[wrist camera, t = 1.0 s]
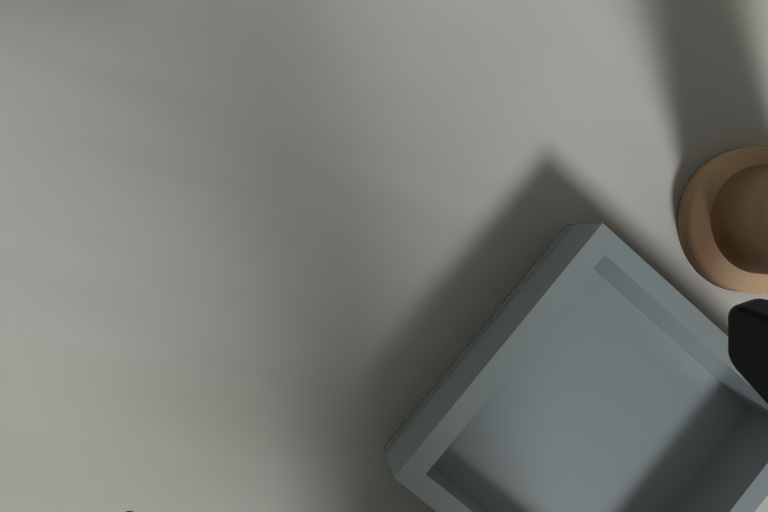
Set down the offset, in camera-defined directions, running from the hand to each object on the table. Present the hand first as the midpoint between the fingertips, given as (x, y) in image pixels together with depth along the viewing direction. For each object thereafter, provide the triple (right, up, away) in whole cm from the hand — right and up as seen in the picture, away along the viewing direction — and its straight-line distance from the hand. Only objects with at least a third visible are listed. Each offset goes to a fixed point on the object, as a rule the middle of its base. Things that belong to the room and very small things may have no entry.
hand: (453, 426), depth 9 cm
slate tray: (+7, -4, +16) cm, 18 cm away
